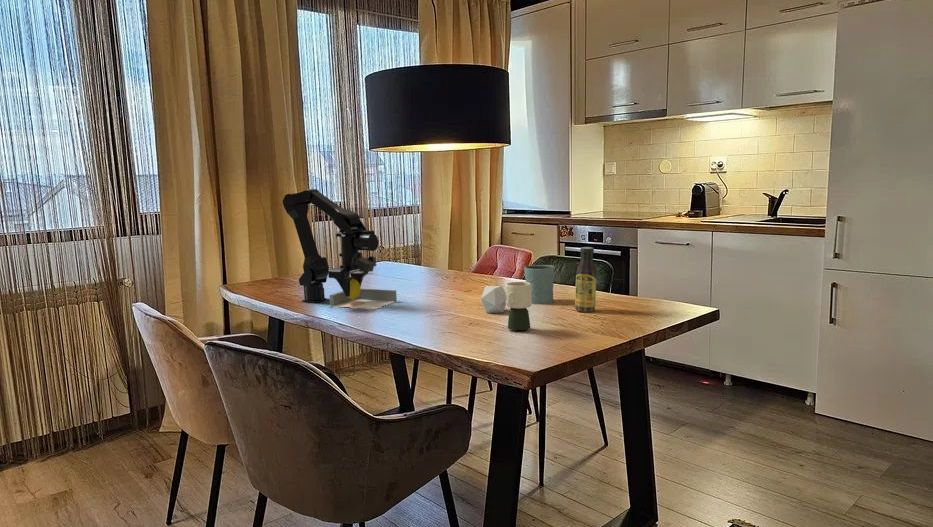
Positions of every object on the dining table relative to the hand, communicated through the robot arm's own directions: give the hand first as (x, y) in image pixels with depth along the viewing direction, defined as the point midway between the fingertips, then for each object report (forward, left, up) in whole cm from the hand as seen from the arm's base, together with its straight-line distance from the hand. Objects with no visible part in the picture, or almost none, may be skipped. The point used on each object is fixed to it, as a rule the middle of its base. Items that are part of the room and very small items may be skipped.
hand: (352, 294), depth 213 cm
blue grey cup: (+60, +22, -4) cm, 64 cm away
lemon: (0, 0, -2) cm, 2 cm away
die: (+51, +3, -4) cm, 51 cm away
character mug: (+66, -17, -4) cm, 68 cm away
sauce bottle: (+78, +12, -4) cm, 79 cm away
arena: (+3, +2, -3) cm, 5 cm away
